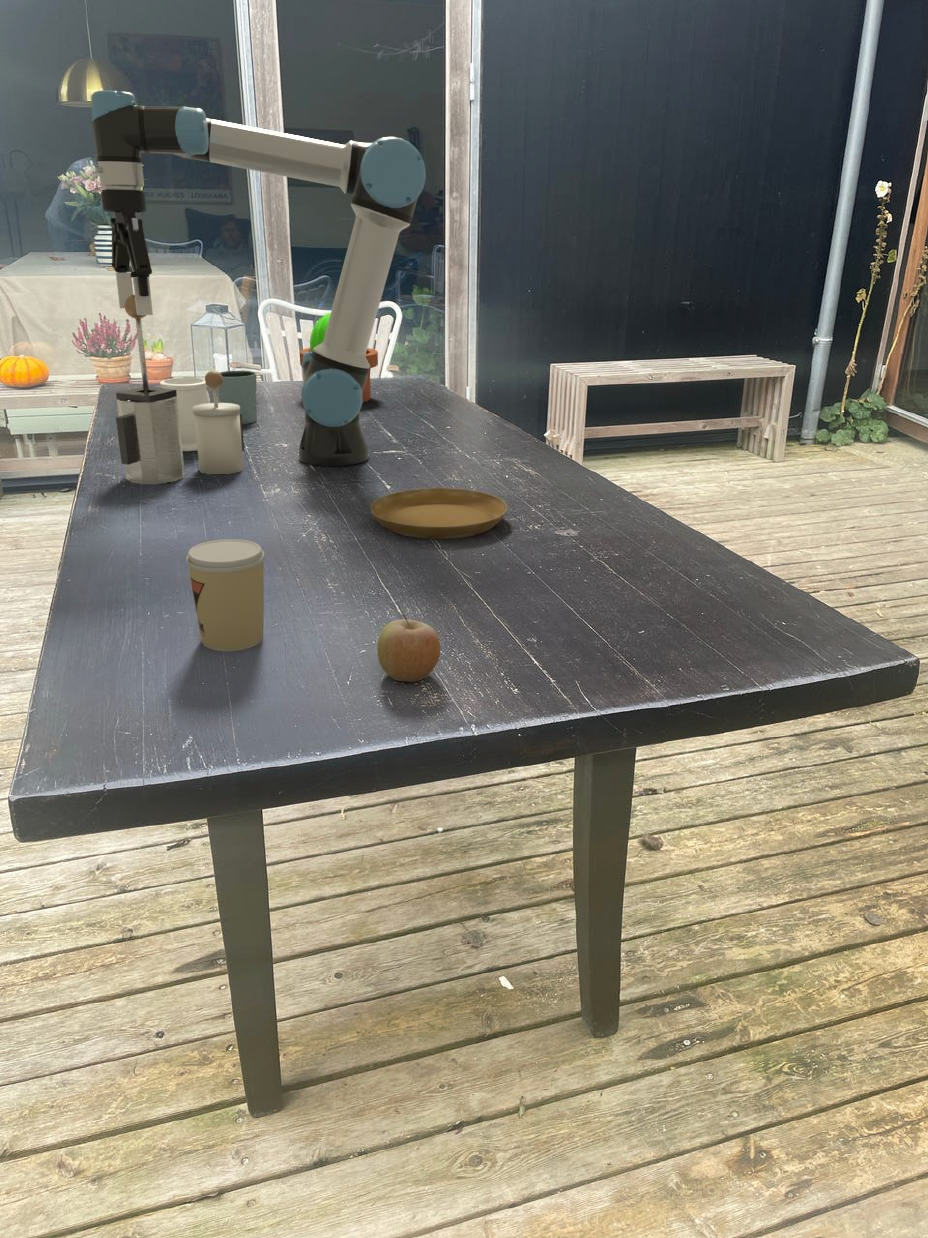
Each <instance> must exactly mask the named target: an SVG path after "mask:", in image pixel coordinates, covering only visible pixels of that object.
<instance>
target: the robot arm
mask: <svg viewBox="0 0 928 1238" xmlns="http://www.w3.org/2000/svg"><path fill="white" fill-rule="evenodd" d="M90 101H91V102H90V103H91V123H92V128H93V135H94V136H93V137H94V143H95V150H96V159H97V166H96V167H95V170H94V171H95V173H96V174H99V175H98V176H99V184H100V185H101V186H102V187H103V189H102V190H101V191H100V195H101V203H102V209H103V211H104V212H106V213H114V215H115V216H110V218H109V219H110V221H109V222H110V227H111V267H112V269H113V270H114V272H115V277H116V278H115V279H116V286H117V296H118V304H119V306H118V307H119V309H125V301H126V299H127V298H128V297H129V296H131V295H135V303H136V312H137V315H146V316H153V304H152V295H151V284H150V283H151V282H150V275H152V273H153V270H152V266H151V261H150V260H151V259H150V256H149V251H148V248H147V243H146V238H145V233H144V227H143V226H144V225H143V219H142V218H141V217H137V216H136V213H138V214H139V213H140V214H142V213H146V211H147V206H146V205H147V204H146V203H147V202H146V193H145V192H144V190H142V188H143V187H144V186H145V180H144V171H143V162H142V159H141V157H142V153H145V154H166V155H167V154H169V155H175V157H178V158H182V159H186V160H197V161H202V162H208V163H212V164H214V163H215V164H220V165H223V166H230V167H234V168H239V169H244V170H249V171H253V172H254V171H256V172H261V173H266V174H270V175H276V176H282V177H285V178H292V179H298V180H301V181H308V182H313V183H318V184H323V185H328V186H333V187H339V188H340V190H342V192H343V193H344V194H345V195H349V196H350V195H351V196H352V198H351V202H350V206H351V208H352V210H353V213H354V215H355V219H354V223H353V227H352V230H351V235H350V239H349V243H348V246H347V250H346V254H345V258H344V262H343V265H342V268H341V273H340V276H339V281H338V284H337V288H336V293H335V295H334V299H333V302H332V307H331V311H330V313H331V314H330V318H329V322H328V326H327V329H326V333H325V337H324V341H323V342H322V343H321V344H319V345H318V346H316V347H314V348H313V352H306V353H304V355H303V363H302V366H301V368H302V371H303V372H302V373H303V385H302V389H301V393H300V397H301V403H302V406H303V408H304V415H305V416H304V417H305V425H304V429H303V432H302V437H301V440H300V443H299V448H298V456H299V458H298V459H299V461H301V463H306V464H308V465H314V466H321V467H323V466H324V467H340V466H342V467H343V466H344V467H345V466H351V465H356V464H361V463H364V462H366V461H368V459H369V448H368V447H369V446H368V444H367V441H366V438H365V436H364V435H365V434H364V432H363V430H362V426H361V423H360V422H361V421H360V412H361V409H362V407H363V400H362V399H363V395H362V394H363V390H364V387H365V383H366V379H367V376H368V372H369V369H370V370H371V368H370V364H369V363H368V361H367V359H366V355H365V354H366V351H367V348H369V345H370V344H369V343H370V342H369V341H370V339H371V337H372V333H373V329H374V325H375V321H376V319H377V318H376V317H377V315H378V311H379V307H380V303H381V300H382V296H383V293H384V289H385V285H386V283H387V279H388V275H389V271H390V268H391V264H392V261H393V257H394V254H395V250H396V246H397V243H398V239H399V235H400V233H401V232H402V231H403V230H404V229H407V228H408V227H410V225H411V223H412V219H413V216H414V213H415V209H416V206H417V201H418V198H419V196H421V194H422V192H423V190H424V187H425V183H426V178H427V176H426V175H427V174H426V173H427V171H426V166H425V165H426V164H425V162H424V160H423V157H422V154H421V153H420V152H419V150H418V149H417V148H416V146H414V145H413V144H412V143H411V142H410V141H407V140H405V139H404V138H401V137H396V136H383V137H381V138H378V139H376V140H374V141H373V142H361V141H357V140H356V141H355V140H349V141H348V142H346V143H345V144H340V143H335V142H331V141H325V140H320V139H315V138H310V137H305V136H301V135H295V134H290V133H283V132H280V131H276V130H275V131H274V130H270V129H263V128H260V127H259V128H258V127H255V126H248V125H243V124H240V123H239V124H238V123H234V122H229V121H228V122H227V121H224V120H218V119H214V118H208V117H207V114H206V112H205V110H203V109H202V108H199V107H197V108H196V107H189V106H186V105H185V106H149V105H148V106H147V105H146V106H145V105H142V104H137V102H136V97H135V95H134V93H131V92H130V91H129V92H128V91H122V90H96V91H95V92H93V93H92V94H91V97H90ZM130 265H131V266H130Z"/></svg>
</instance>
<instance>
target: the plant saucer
mask: <svg viewBox="0 0 928 1238" xmlns="http://www.w3.org/2000/svg"><path fill="white" fill-rule="evenodd" d="M369 508H370V511H371V515H372V516H373V517H374V519H375V520H376V521H377V522H378V523H379V524H380V525H381V526H382V527H383V528H385V529H387V530H389V531H390V532H393V533H395V534H398V535H401V536H404V537H405V536H406V537H410V538H415V539H416V538H417V539H424V540H425V539H426V540H427V539H428V540H453V539H461V538H462V539H463V538H469V537H473V536H478V535H480V534H482V533H485V532H488V530H490V529H492V528H494V527H495V526H496V525H498V524H499V523H500V522H501V521H502V519H503V518H504V516H506V514H507V511H508V505H507V503H506V502H505V501H504V500H503V499H501V498H500V497H498V496H496V495H492V494H490V493H486V492H482V491H479V490H478V491H477V490H472V489H464V488H455V487H454V488H452V487H430V488H428V487H427V488H415V489H408V490H401V491H398V492H393V493H390V494H386V495H383V496H381V497H379V498H377V499H375V500H374V501H373V502H372V503H371V505H370V507H369Z"/></svg>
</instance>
